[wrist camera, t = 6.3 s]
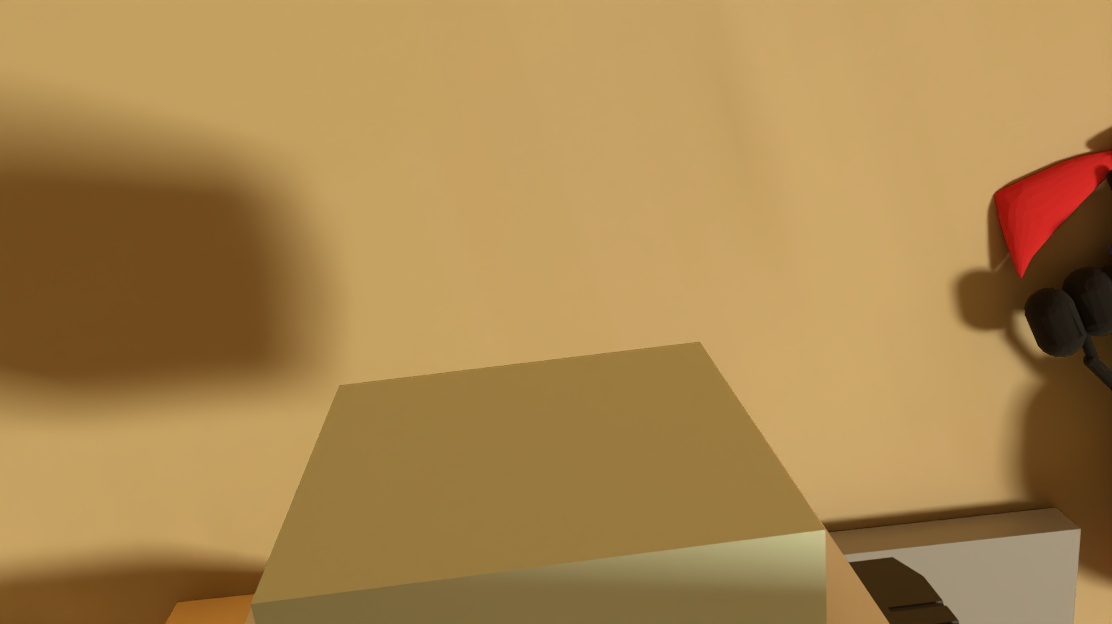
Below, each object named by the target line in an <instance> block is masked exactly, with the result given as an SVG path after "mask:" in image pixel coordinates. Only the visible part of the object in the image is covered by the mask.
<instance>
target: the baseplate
mask: <svg viewBox="0 0 1112 624" xmlns="http://www.w3.org/2000/svg"><path fill="white" fill-rule="evenodd" d="M828 533H829V534H830V536H831V537H832V539H833V540H834V542H835V543H836V545H837V546H838V548H839V549H840V551H841V552H842V554H843V555H844V557H845V558H846V560H847V561H848V562H855V561H864V560H872V559H880V558H888V557H893V558H895V559H897V560H898V561H900V562H901V563H903V564H905V565H906V566H908V567H910V568H911V569H913V570H914V571H916V572H918V573H919V574H921V575H922V576H924V577H925V579H926V580H927V581H928V582H929V584H930V585H931V586H932V587H933V589H934V590H935V591H936V593H937V594H938V595H939V596H940V598H941V599H942V600H943V604H944V606H946V605H947V606H948V608H949V609H950V610H951V611H952V613H953V614H954V615H955V617H956V618H957V619H958V620H959V624H1073V623H1074V610H1075V598H1076V585H1077V573H1078V560H1079V548H1080V535H1081V528H1079V527H1078V526H1077V525H1076V524H1075V523H1074V522H1072V521H1071V520H1070V519H1069V518H1068V517H1067V516H1065V515H1064V514H1063V513H1062V512H1061V511H1060V510H1058V509H1057V508H1056V507H1055V508H1046V509H1037V510H1028V511H1019V512H1010V513H1000V514H991V515H982V516H973V517H964V518H955V519H945V520H936V521H927V522H918V523H909V524H900V525H891V526H881V527H872V528H863V529H854V530H845V531H836V532H828Z"/></svg>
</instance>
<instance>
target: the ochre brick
mask: <svg viewBox="0 0 1112 624" xmlns="http://www.w3.org/2000/svg"><path fill="white" fill-rule="evenodd" d="M253 597H254V594H250V595H241V596H231V597H222V598H213V599H203V600H194V601H185V602H177V604H176V606H175V607H174V609H173V611H172V613H171V614H170V616H169V618H168V619H167V621H166V623H165V624H245V622H246V619H247V617H248V614H249V612H250V609H251V602H252V599H253Z"/></svg>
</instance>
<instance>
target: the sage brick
mask: <svg viewBox="0 0 1112 624" xmlns="http://www.w3.org/2000/svg"><path fill="white" fill-rule="evenodd" d="M251 608H252V612H253V617H254V621H255V624H827V605H826V536H825V528H824V527H823V525H822V524H821V522H820V521H819V519H818V518H817V516H816V515H815V513H814V512H813V510H812V509H811V507H810V506H809V504H808V503H807V501H806V500H805V498H804V497H803V495H802V494H801V492H800V491H799V489H798V488H797V487H796V485H795V484H794V482H793V481H792V479H791V478H790V476H789V475H788V473H787V472H786V470H785V469H784V467H783V466H782V464H781V463H780V461H779V460H778V458H777V457H776V455H775V454H774V452H773V451H772V449H771V448H770V446H769V445H768V443H767V442H766V440H765V439H764V437H763V436H762V434H761V433H760V431H759V430H758V428H757V427H756V425H755V424H754V422H753V421H752V419H751V418H750V416H749V415H748V413H747V412H746V410H745V409H744V407H743V406H742V404H741V403H740V401H739V400H738V398H737V397H736V395H735V394H734V392H733V391H732V389H731V388H730V386H729V385H728V383H727V382H726V380H725V379H724V377H723V376H722V374H721V373H720V371H719V370H718V368H717V367H716V365H715V364H714V362H713V361H712V359H711V358H710V356H709V355H708V353H707V352H706V350H705V349H704V348H703V346H702V345H701V343H700V342H694V343H686V344H677V345H669V346H661V347H653V348H644V349H636V350H628V351H620V352H611V353H603V354H595V355H586V356H578V357H570V358H562V359H553V360H545V361H537V362H529V363H520V364H512V365H504V366H496V367H487V368H479V369H471V370H463V371H454V372H446V373H438V374H430V375H421V376H413V377H405V378H396V379H388V380H380V381H372V382H363V383H355V384H347V385H339V388H338V390H337V393H336V395H335V398H334V400H333V402H332V405H331V407H330V410H329V412H328V415H327V417H326V420H325V422H324V425H323V427H322V430H321V432H320V434H319V437H318V439H317V442H316V444H315V447H314V449H313V452H312V454H311V457H310V459H309V462H308V464H307V466H306V469H305V471H304V474H303V476H302V479H301V481H300V484H299V486H298V489H297V491H296V494H295V496H294V498H293V501H292V503H291V506H290V508H289V511H288V513H287V516H286V518H285V521H284V523H283V526H282V528H281V530H280V533H279V535H278V538H277V540H276V543H275V545H274V548H273V550H272V553H271V555H270V558H269V560H268V562H267V565H266V567H265V570H264V572H263V575H262V577H261V580H260V582H259V585H258V587H257V590H256V592H255V594H254V597H253V599H252V602H251Z"/></svg>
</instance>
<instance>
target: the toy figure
mask: <svg viewBox="0 0 1112 624" xmlns="http://www.w3.org/2000/svg"><path fill="white" fill-rule="evenodd" d="M1106 177H1107V180H1108V182H1109V185H1110V187H1111V190H1112V151H1105V152H1099V153H1094V154H1089V155H1085V156H1081V157H1077V158H1074V159H1070V160H1067V161H1064V162H1061V163H1059V164H1057V165H1055V166H1052V167H1050V168H1047V169H1045V170H1043V171H1041V172H1039V173H1036V174H1034V175H1032V176H1030V177H1027V178H1025V179H1023V180H1021V181H1019V182H1017V183H1014V184H1012V185H1010V186H1007V187H1006V188H1004V189H1002V190H1000V191H997V192H996V194H995V201H996V205H997V213H998V217H999V221H1000V225H1001V228H1002V231H1003V234H1004V237H1005V240H1006V243H1007V246H1008V249H1009V252H1010V254H1011V257H1012V260H1013V263H1014V266H1015V268H1016V271H1017V273H1018V274H1019V276H1020V278H1021V279H1022V277H1023V275H1024V273H1025V271H1026V268H1027V266H1028V264H1029V262H1030V260H1031V259H1032V257H1033V256H1034V254H1035V253H1036V252H1037V251H1038V250H1039V249H1040V248H1041V246H1042V245H1043V244H1044V243H1045V242H1046V241H1047V239H1048V238H1049V237H1050V236H1051V235H1052V233H1053V232H1054V231H1055V230H1056V229H1057V228H1058V227H1059V226H1060V225H1061V224H1062V223H1063V222H1064V221H1065V219H1066V218H1068V217H1069V216H1070V215H1071V214H1072V213H1073V212H1074V211H1075V209H1076V208H1077V207H1078V206H1079V205H1080V204H1081V203H1082V202H1083V201H1084V200H1085V199H1086V198H1087V197H1088V196H1089V195H1090V194H1091V193H1092V192H1093V191H1094V190H1095V189H1096V188H1097V187H1098V186H1099V185H1100V184H1101V183H1102V182H1103V180H1104V179H1105V178H1106ZM1108 249H1109V251H1110V253H1111V256H1112V246H1110V247H1108ZM1024 310H1025V316H1026V319H1027V321H1028V323H1029V326H1030V328H1031V330H1032V333H1033V335H1034V337H1035V340H1036V342H1037V344H1038V346H1039V347H1040V348H1041V349H1042V351H1043V352H1045V353H1047V354H1049V355H1052V356H1055V357H1065V356H1069V355H1072V354H1074V353H1076V352H1077V351H1078V350H1080V348H1081V347H1082V348H1083V350H1084V353H1085V355H1086V356H1084V358H1083V362H1084V364H1085V365H1086V366H1087V367H1088V368H1089V369H1090V370H1091V371H1092V372H1093V373H1094V374H1095V375H1096V376H1097V377H1098V378H1099V379H1100V380H1101V381H1102V382H1104V383H1105V384H1106V385H1107V386H1108V387H1109V388H1110V389H1111V390H1112V371H1111V370H1110V369H1109V368H1108V367H1107V366H1106V365H1105V364H1104V363H1103V362H1102V361H1101V360H1100V359H1099V357H1098V354H1097V352H1096V349H1095V347H1094V345H1093V342H1092V340H1091V337H1090V335H1091V336H1105V335H1109V334H1111V333H1112V264H1109V265H1106V266H1104V267H1103V268H1101V269H1097V268H1091V267H1086V268H1081V269H1078V270H1075V271H1074V272H1072V273H1070V274H1069V276H1068V277H1067V278H1066V279H1065V281H1064V284H1063V287H1062V290H1060V289H1056V288H1045V289H1041V290H1039V291H1037V292H1035V293H1033V294H1032V295H1031V296H1030V297H1029V299H1028V300H1027V302H1026V305H1025V308H1024Z"/></svg>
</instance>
